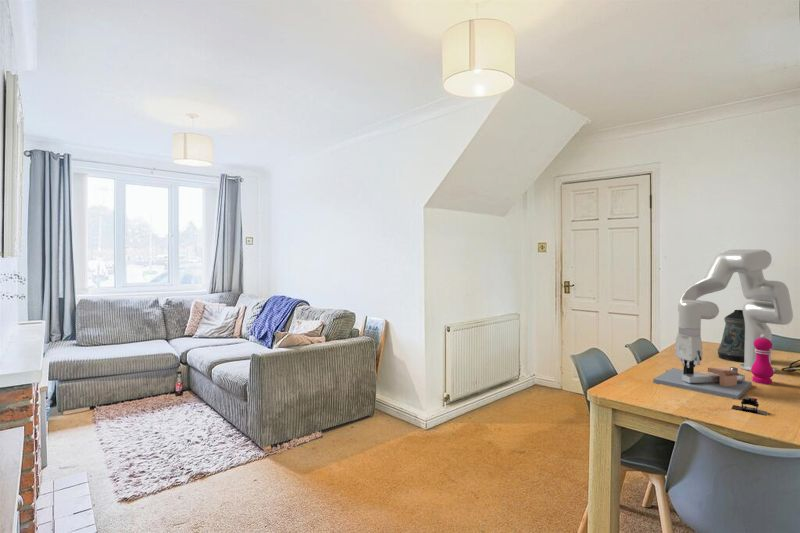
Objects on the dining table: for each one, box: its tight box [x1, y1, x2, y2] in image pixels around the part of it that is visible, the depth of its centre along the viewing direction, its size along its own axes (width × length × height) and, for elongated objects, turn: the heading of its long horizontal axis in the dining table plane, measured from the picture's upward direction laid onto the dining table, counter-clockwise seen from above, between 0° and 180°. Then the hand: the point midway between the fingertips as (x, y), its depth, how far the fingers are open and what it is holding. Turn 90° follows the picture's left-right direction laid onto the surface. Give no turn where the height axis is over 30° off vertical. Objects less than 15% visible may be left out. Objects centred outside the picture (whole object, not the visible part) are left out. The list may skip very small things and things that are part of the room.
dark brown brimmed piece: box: [730, 396, 768, 417], centre depth 146 cm, size 12×7×5 cm, turn 47°
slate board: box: [652, 367, 753, 400], centre depth 176 cm, size 26×28×2 cm
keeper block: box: [707, 366, 737, 386], centre depth 172 cm, size 6×7×7 cm
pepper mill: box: [750, 334, 775, 385], centre depth 179 cm, size 7×7×20 cm
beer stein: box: [717, 309, 745, 364], centre depth 219 cm, size 16×19×25 cm
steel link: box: [682, 366, 746, 383], centre depth 174 cm, size 24×6×5 cm, turn 96°
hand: (688, 376), depth 177 cm, fingers closed
